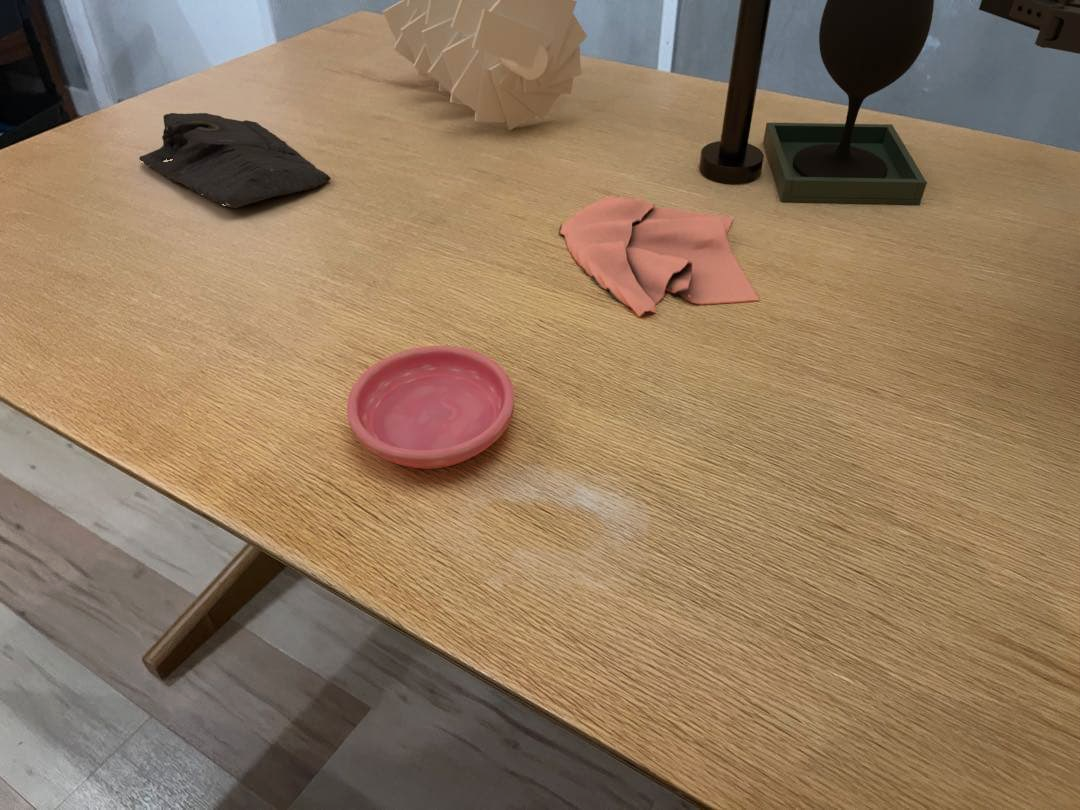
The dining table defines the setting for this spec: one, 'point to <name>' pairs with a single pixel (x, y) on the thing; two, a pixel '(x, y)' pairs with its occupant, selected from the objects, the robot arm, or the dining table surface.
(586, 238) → the cloth
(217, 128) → the folded black garment
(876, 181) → the tray
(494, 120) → the spiral staircase
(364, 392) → the saucer
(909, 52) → the wine glass
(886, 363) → the dining table surface
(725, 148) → the post
